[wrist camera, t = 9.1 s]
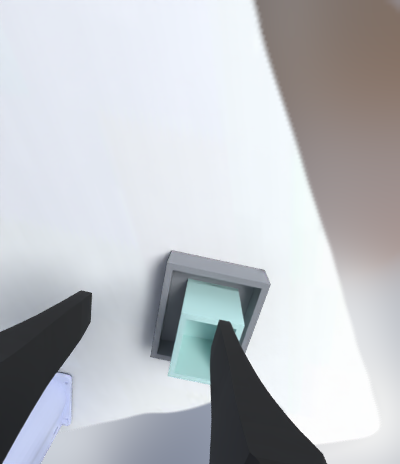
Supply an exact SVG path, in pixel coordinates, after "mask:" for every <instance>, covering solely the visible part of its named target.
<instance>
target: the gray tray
mask: <svg viewBox="0 0 400 464" xmlns="http://www.w3.org/2000/svg"><path fill="white" fill-rule="evenodd" d="M188 278H189V279H193V280H198V281H203V282H208V283H212V284H217V285H222V286H227V287H232V288H236V289H238V291H239V297H240V302H241V308H242V314H243V319H244V325H245V326H244V329H243V332H242V335H241V338H240V341H239V343H240V345H241V347H242V349H243V351H244V353H245V352H246V350H247V347H248V344H249V342H250V339H251V336H252V333H253V331H254V328H255V325H256V323H257V320H258V317H259V315H260V312H261V309H262V306H263V304H264V301H265V298H266V296H267V293H268V290H269V288H270V285H271V284H270V282H269V279H268V277H267V275H266V272H265V270H262V269H257V268H252V267H248V266H243V265H238V264H234V263H229V262H224V261H219V260H215V259H210V258H205V257H201V256H196V255H191V254H187V253H182V252H177V251H173V250H172V252H171V254H170V257H169V259H168V261H167V266H166V272H165V277H164V283H163V288H162V294H161V300H160V305H159V311H158V317H157V322H156V328H155V333H154V339H153V345H152V350H151V356H150V357H153V358H158V359H163V360H168V361H171V357H172V352H173V348H174V343H175V338H176V333H177V328H178V323H179V319H180V314H181V310H182V305H183V300H184V296H185V291H186V287H187V282H188Z"/></svg>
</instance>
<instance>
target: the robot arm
mask: <svg viewBox="0 0 400 464" xmlns="http://www.w3.org/2000/svg"><path fill="white" fill-rule="evenodd" d="M91 302H92V293H91V292H86V291H79V292H78V293H76V294H74V295H72V296H70V297H69V298H67V299H65V300H63V301H62V302H60V303H58V304H56V305H55V306H53V307H51V308H49V309H47V310H46V311H44V312H42V313H40V314H38V315H36V316H34V317H32V318H30V319H28V320H26V321H24V322H22V323H20V324H17V325H15V326H13V327H11V328H8V329H6V330H4V331H1V332H0V464H41V462H42V460H43V458H44V456H45V455H46V453H47V451H48V449H49V447H50V445H51V444H52V442H53V440H54V438H55V436H56V435H57V433H58V431H59V429H60V427H61V425H65V426H68V425H70V423H71V405H72V377H71V376H70V375H67V374H62V373H57V372H58V370H59V369H60V367H61V366H62V365H63V363H64V362H65V361H66V359H67V358H68V356H69V355H70V354H71V352H72V351H73V350H74V348H75V347H76V345H77V344H78V343H79V341H80V340H81V338H82V336H83V335H84V333H85V331H86V329H87V327H88V326H89V324H90V322H91ZM210 386H211V413H212V415H211V416H212V417H211V418H212V421H211V422H212V423H211V444H210V463H209V464H327V463H326V460H325V458H324V456H323V454H322V453H321V452H320V451H319V450H318V449H317V448H316V446H315V445H314V444H313V443H312V442H311V441H310V440H309V439H308V438H307V437H306V436H305V435H304V434H303V433H302V432H301V431H300V430H299V429H298V428H297V427H296V426H295V424H294V423H293V422H292V421H291V420H290V419H289V418H288V417H287V415H286V414H285V413H284V412H283V410H282V409H281V408H280V407H279V405H278V404H277V403H276V402H275V400H274V399H273V398H272V396H271V395H270V394H269V392H268V391H267V389H266V388H265V387H264V385H263V384H262V382H261V381H260V379H259V377H258V376H257V374H256V373H255V371H254V369H253V367H252V366H251V364H250V362H249V360H248V358H247V357H246V355H245V353H244V351H243V349H242V347H241V345H240V343H239V340H238V338H237V336H236V334H235V331H234V329H233V327H232V324H231V322H230V321H225V320H220V319H219V322H218V325H217V329H216V332H215V335H214V339H213V342H212V345H211V355H210Z"/></svg>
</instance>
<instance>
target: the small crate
mask: <svg viewBox="0 0 400 464" xmlns="http://www.w3.org/2000/svg"><path fill="white" fill-rule="evenodd" d="M219 319H220V320H225V321H230V322H231V324H232V327H233V329H234V331H235V334H236V336H237V338H238V340H239V341H240V338H241V335H242V332H243V329H244V326H245V325H244V319H243V314H242V308H241V302H240V297H239V291H238V289H236V288H232V287H227V286H222V285H217V284H212V283H208V282H203V281H198V280H193V279H189V278H188V282H187V287H186V291H185V296H184V300H183V305H182V310H181V314H180V319H179V323H178V328H177V333H176V338H175V343H174V348H173V352H172V357H171V362H170V367H169V372H168V376H169V377H174V378H179V379H184V380H189V381H194V382H199V383H204V384H209V385H210V355H211V345H212V342H213V339H214V335H215V332H216V329H217V325H218V322H219Z"/></svg>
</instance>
